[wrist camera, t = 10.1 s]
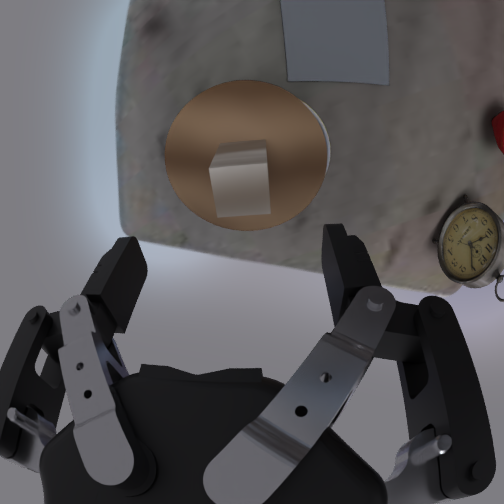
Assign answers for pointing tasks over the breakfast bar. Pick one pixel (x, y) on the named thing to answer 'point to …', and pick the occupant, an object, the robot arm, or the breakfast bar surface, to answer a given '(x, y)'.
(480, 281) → the alarm clock
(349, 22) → the mat
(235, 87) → the lid
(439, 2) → the breakfast bar surface
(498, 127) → the strawberry
